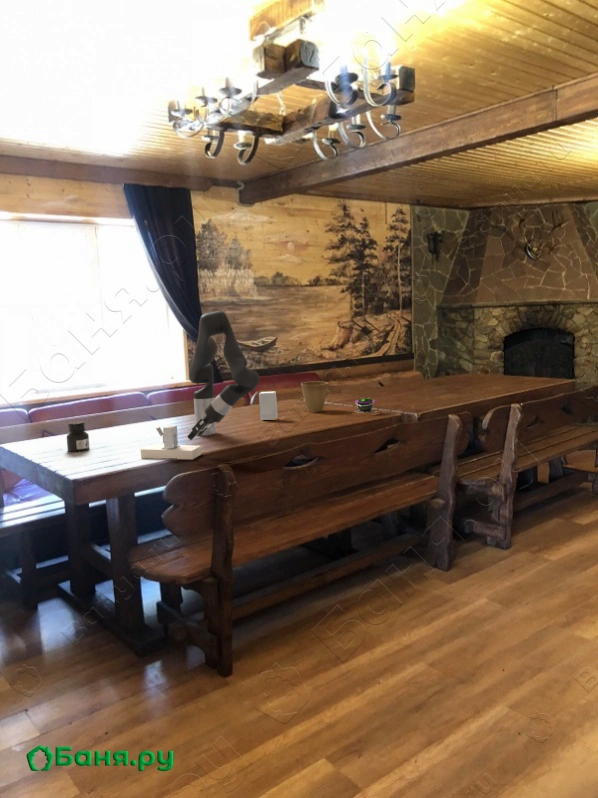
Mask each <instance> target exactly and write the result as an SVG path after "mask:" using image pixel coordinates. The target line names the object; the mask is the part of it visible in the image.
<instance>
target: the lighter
mask: <svg viewBox="0 0 598 798" xmlns="http://www.w3.org/2000/svg"><path fill="white" fill-rule="evenodd" d="M155 429H156V431H157V432H158V435H159V436H161V437H162V444H163V443H164V435H163V429H162V428H161V426H159V425H158V426H156V427H155Z"/></svg>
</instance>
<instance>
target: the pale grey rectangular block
mask: <svg viewBox="0 0 598 798" xmlns="http://www.w3.org/2000/svg"><path fill="white" fill-rule="evenodd" d="M162 432H163V435H164V444H163V445H164V449H169V450H174V449H176V448H178V445H179V438H178V437H179V436H178V425H170V424H169V425H167V426H164V427H163V428H162ZM163 435H162V436H163Z"/></svg>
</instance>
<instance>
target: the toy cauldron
mask: <svg viewBox="0 0 598 798" xmlns="http://www.w3.org/2000/svg"><path fill="white" fill-rule="evenodd" d="M357 397H358V398H360V396H357ZM354 402H355V404H356V406H357V408H358V410H355V411H354V412H357V413H365V412H366V413H373V412H376V411H375V410H373V408H374V402H376V400H375V399H372V398H370V397H368V398H365V397H364V396H363V397H361V398H360V399H356V400H355V401H354ZM359 411H360V412H359Z"/></svg>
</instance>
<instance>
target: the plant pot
mask: <svg viewBox="0 0 598 798" xmlns="http://www.w3.org/2000/svg"><path fill="white" fill-rule="evenodd" d="M328 386H329V384H328V382H326V381H320V380H319V381H318V380H317V381H306V382H305V381H304V382H301V383H300V387H301V392H302V395H303V400H304V403H305V405H306V408H307V410H308V412H309V411H313V412H312V413H317V412H316V411H321V412H322V411H323V409H324V407H325V403H326V397H327V393H328Z"/></svg>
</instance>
